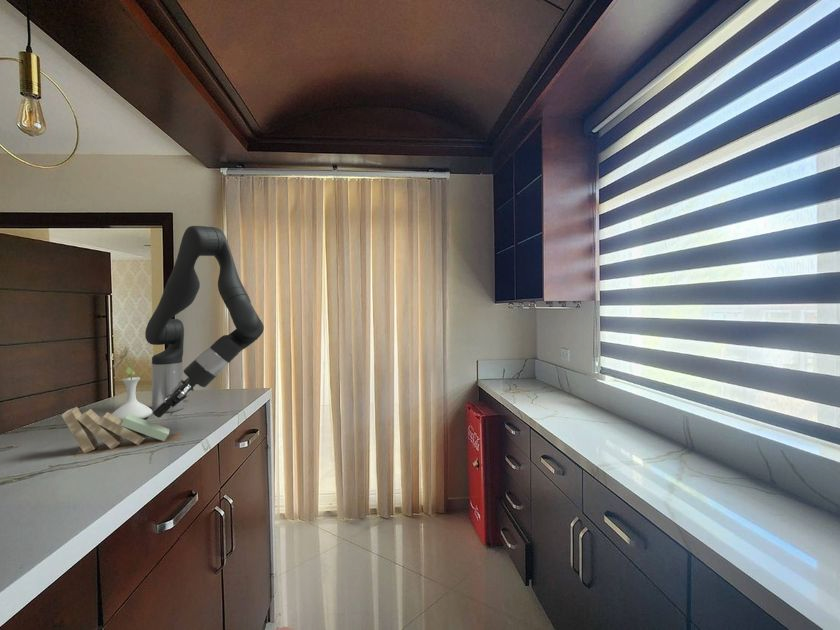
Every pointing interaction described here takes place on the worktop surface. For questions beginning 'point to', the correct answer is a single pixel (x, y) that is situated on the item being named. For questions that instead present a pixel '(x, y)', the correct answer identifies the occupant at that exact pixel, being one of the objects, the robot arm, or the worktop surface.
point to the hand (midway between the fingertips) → (155, 415)
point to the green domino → (145, 427)
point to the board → (130, 444)
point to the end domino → (80, 430)
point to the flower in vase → (130, 393)
